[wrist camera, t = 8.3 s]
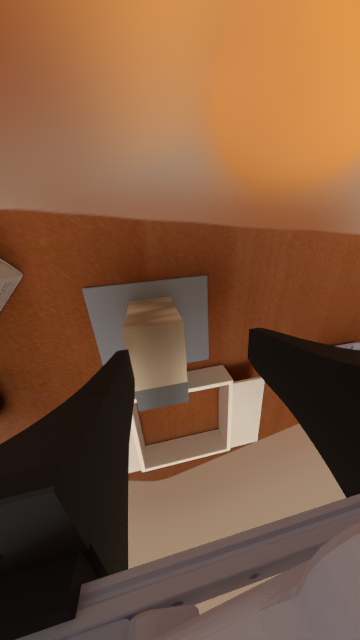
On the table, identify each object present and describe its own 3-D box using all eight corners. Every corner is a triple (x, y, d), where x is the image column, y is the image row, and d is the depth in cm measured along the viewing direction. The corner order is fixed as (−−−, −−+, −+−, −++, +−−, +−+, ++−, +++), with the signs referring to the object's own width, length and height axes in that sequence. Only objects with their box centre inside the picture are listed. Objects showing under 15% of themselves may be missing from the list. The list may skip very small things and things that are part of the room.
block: (169, 296, 19) (183, 321, 12) (175, 355, 21) (189, 401, 15) (129, 301, 18) (122, 330, 12) (140, 361, 21) (138, 411, 14)
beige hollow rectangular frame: (251, 359, 24) (265, 373, 21) (246, 424, 29) (256, 443, 26) (91, 388, 21) (83, 409, 19) (113, 455, 26) (109, 480, 23)
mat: (205, 275, 19) (207, 275, 19) (207, 357, 23) (208, 359, 22) (83, 288, 17) (81, 288, 17) (106, 374, 21) (106, 377, 21)
